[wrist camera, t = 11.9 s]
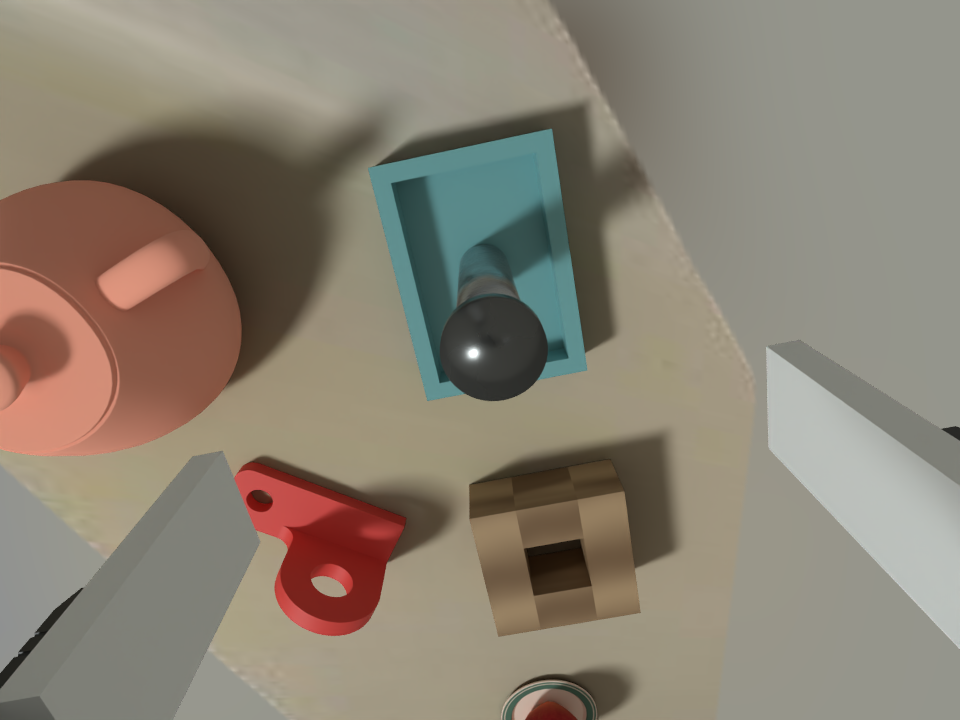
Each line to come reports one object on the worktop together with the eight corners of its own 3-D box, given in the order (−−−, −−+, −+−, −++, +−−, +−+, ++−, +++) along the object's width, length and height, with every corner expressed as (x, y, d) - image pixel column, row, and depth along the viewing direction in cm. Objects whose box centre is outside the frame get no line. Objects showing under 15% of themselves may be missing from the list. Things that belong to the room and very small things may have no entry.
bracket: (406, 516, 43) (393, 596, 35) (383, 563, 44) (365, 649, 37) (244, 457, 41) (194, 527, 33) (226, 507, 42) (174, 586, 35)
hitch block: (469, 484, 42) (469, 518, 38) (610, 459, 41) (624, 491, 37) (496, 595, 45) (498, 636, 41) (626, 572, 45) (640, 612, 41)
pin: (444, 242, 35) (428, 310, 21) (510, 229, 35) (538, 289, 21) (458, 306, 36) (452, 409, 23) (522, 293, 36) (555, 390, 22)
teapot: (82, 482, 41) (-68, 616, 30) (-98, 305, 37) (-359, 382, 25) (335, 318, 37) (276, 398, 26) (169, 98, 33) (7, 75, 21)
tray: (375, 165, 34) (368, 168, 32) (546, 129, 34) (551, 128, 31) (429, 385, 39) (427, 400, 37) (580, 356, 38) (587, 370, 36)
